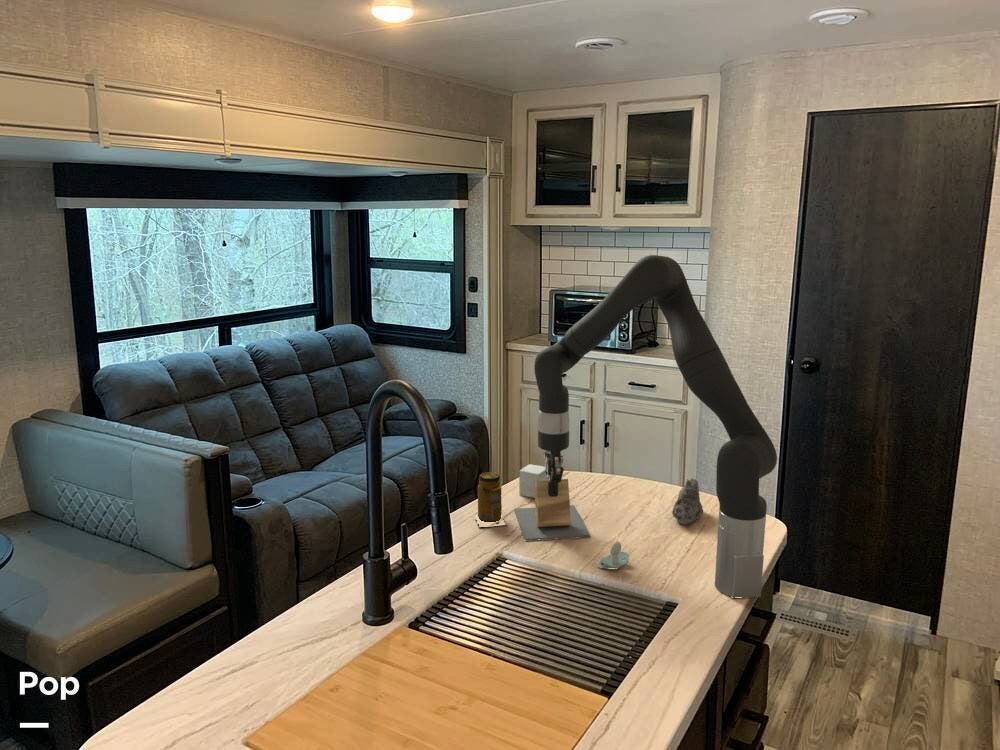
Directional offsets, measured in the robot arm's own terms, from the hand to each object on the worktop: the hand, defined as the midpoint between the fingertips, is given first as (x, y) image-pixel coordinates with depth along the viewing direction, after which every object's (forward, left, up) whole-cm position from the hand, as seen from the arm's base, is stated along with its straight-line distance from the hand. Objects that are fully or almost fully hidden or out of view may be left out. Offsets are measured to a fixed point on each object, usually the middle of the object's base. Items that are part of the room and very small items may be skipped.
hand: (552, 495), depth 187 cm
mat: (+4, 0, -9) cm, 10 cm away
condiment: (+8, +15, -10) cm, 19 cm away
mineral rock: (+3, -35, -10) cm, 36 cm away
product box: (+24, +1, -10) cm, 26 cm away
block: (0, 0, -8) cm, 8 cm away
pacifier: (-20, -10, -10) cm, 24 cm away
